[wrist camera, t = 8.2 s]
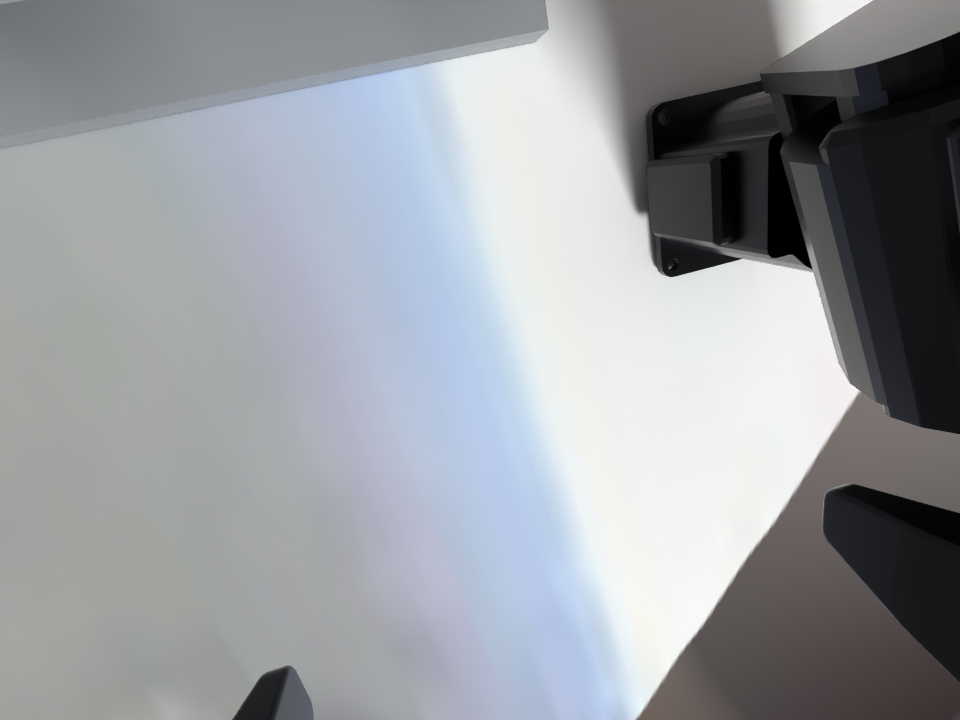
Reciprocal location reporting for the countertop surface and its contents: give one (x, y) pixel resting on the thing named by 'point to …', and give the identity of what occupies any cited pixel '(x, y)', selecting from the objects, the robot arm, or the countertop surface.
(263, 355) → the countertop surface
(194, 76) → the plate
